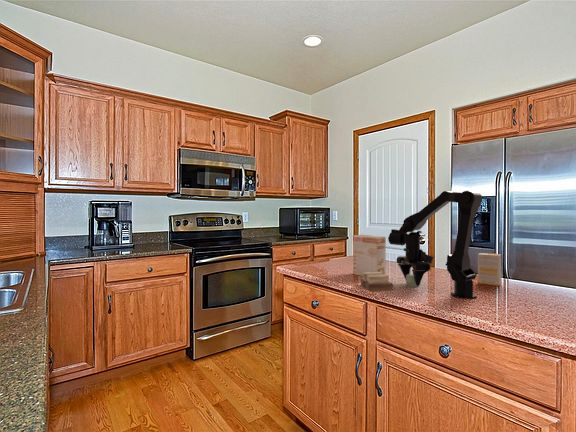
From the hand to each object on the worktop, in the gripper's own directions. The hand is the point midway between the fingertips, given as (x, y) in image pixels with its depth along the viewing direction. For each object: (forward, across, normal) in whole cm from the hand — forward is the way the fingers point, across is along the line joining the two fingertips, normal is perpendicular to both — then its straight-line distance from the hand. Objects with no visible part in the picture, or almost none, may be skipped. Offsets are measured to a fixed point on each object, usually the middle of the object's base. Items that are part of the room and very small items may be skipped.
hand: (412, 283), depth 143 cm
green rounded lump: (+1, 0, 0) cm, 1 cm away
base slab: (+2, 0, +16) cm, 16 cm away
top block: (-1, 0, +16) cm, 16 cm away
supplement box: (+1, -2, -34) cm, 34 cm away
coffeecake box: (+1, +22, +11) cm, 25 cm away
